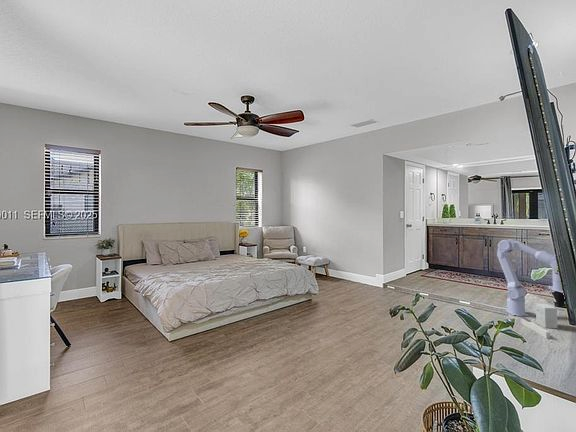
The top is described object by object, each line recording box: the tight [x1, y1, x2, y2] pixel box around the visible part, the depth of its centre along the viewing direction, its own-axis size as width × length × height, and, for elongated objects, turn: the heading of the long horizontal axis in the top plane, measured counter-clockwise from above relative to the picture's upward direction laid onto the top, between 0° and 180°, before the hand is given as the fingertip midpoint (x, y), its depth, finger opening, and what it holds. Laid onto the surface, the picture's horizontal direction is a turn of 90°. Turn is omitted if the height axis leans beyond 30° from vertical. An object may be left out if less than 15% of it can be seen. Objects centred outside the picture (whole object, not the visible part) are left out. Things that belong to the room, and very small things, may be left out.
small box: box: [535, 303, 559, 329], centre depth 160 cm, size 8×6×10 cm
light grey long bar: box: [519, 316, 551, 339], centre depth 154 cm, size 21×2×3 cm, turn 171°
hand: (560, 306), depth 161 cm, fingers closed
